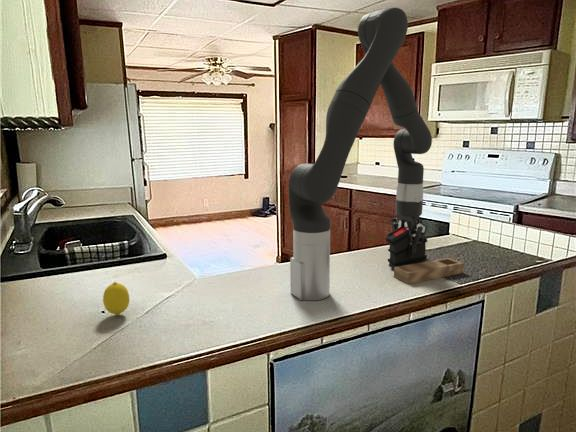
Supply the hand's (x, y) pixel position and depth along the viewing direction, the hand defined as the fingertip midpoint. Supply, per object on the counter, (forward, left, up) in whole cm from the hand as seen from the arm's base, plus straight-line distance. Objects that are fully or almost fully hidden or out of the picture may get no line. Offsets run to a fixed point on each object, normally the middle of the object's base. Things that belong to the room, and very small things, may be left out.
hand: (406, 254), depth 127 cm
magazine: (0, +1, -4) cm, 5 cm away
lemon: (-81, +3, -5) cm, 81 cm away
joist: (+3, -7, -4) cm, 9 cm away
